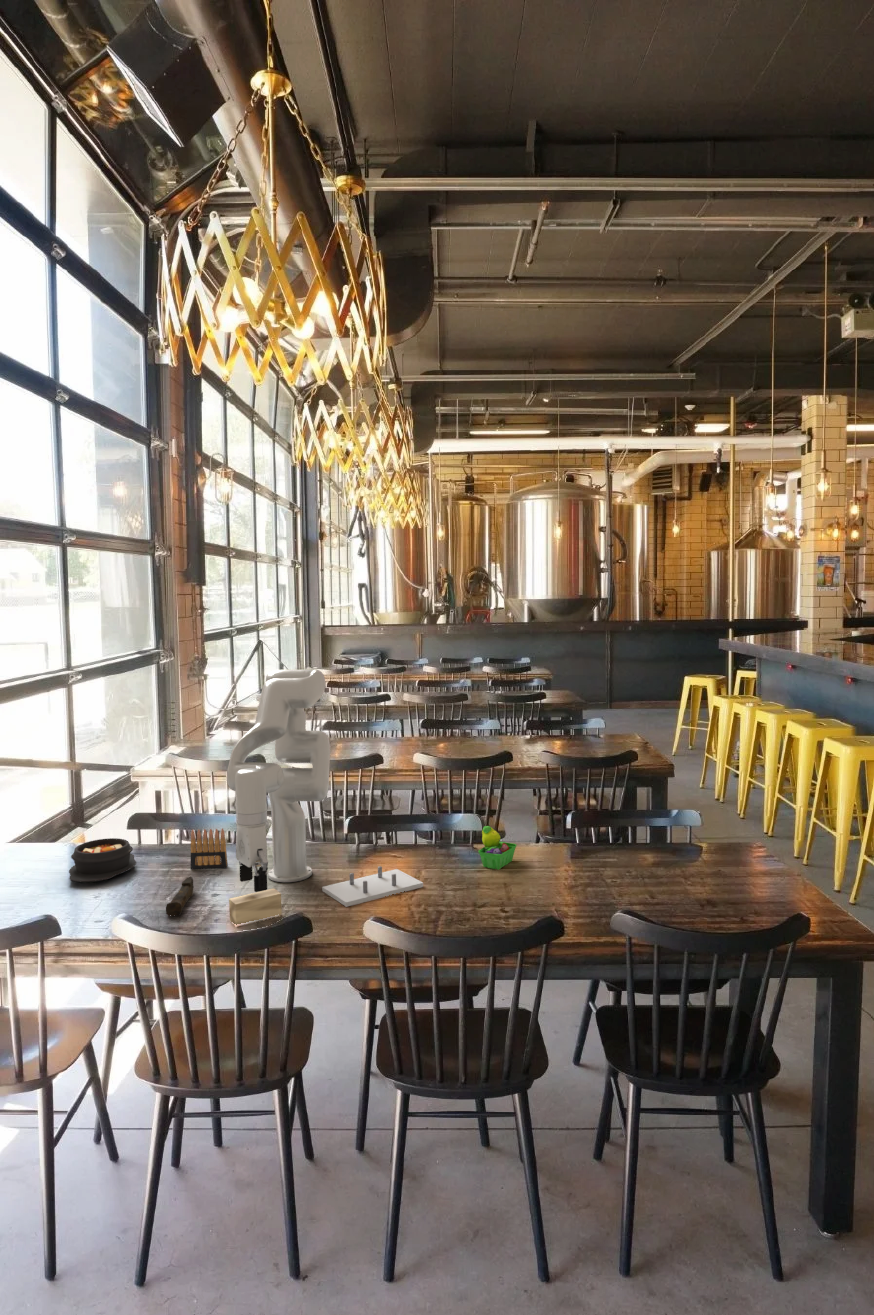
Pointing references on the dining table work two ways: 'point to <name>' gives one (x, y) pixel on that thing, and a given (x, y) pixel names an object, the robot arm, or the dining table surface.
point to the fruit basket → (495, 850)
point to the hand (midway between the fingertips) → (253, 885)
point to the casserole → (101, 860)
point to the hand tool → (180, 898)
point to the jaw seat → (371, 887)
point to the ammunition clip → (208, 851)
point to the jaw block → (255, 906)
